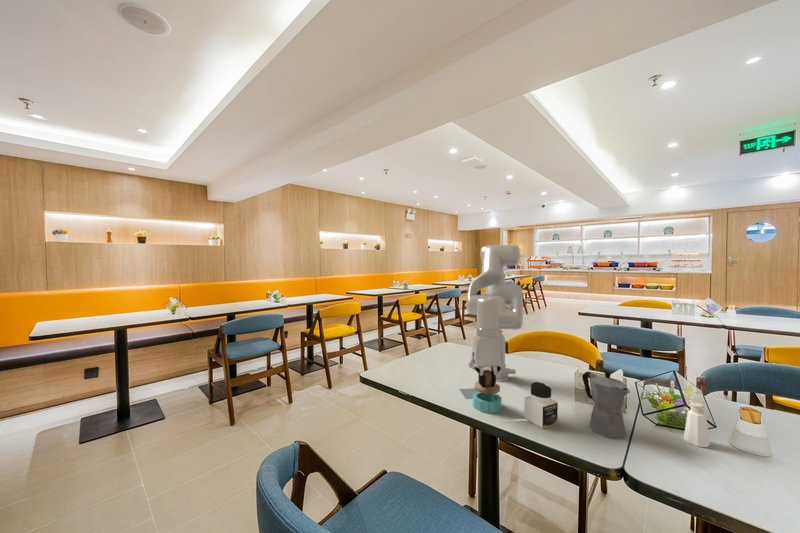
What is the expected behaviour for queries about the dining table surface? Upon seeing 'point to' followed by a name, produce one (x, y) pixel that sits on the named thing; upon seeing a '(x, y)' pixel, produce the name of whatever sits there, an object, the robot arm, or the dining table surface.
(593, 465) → the dining table surface
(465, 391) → the mat
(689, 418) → the salt shaker
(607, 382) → the coffeepot
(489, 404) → the bowl
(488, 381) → the lid
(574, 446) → the dining table surface
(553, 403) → the medicine bottle
